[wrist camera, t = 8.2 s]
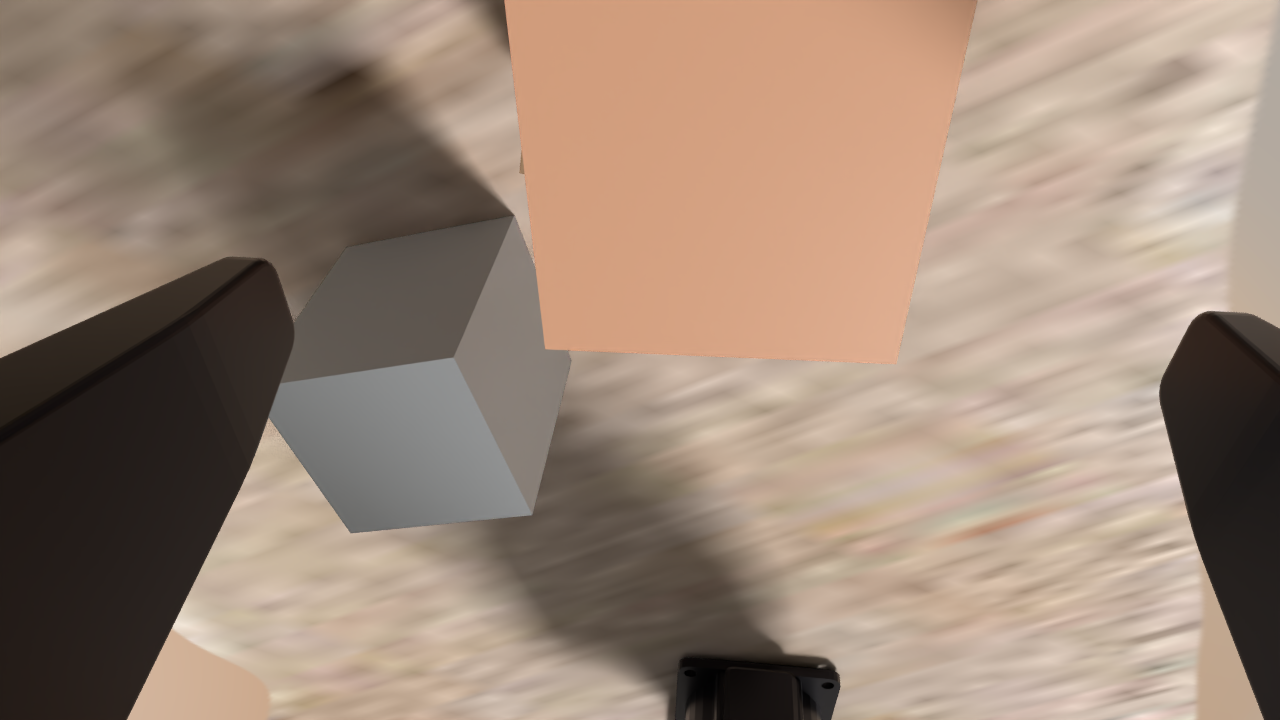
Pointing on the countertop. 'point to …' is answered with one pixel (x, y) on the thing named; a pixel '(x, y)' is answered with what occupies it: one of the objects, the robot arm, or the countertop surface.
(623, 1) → the terracotta block
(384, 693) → the countertop surface
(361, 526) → the grey block
